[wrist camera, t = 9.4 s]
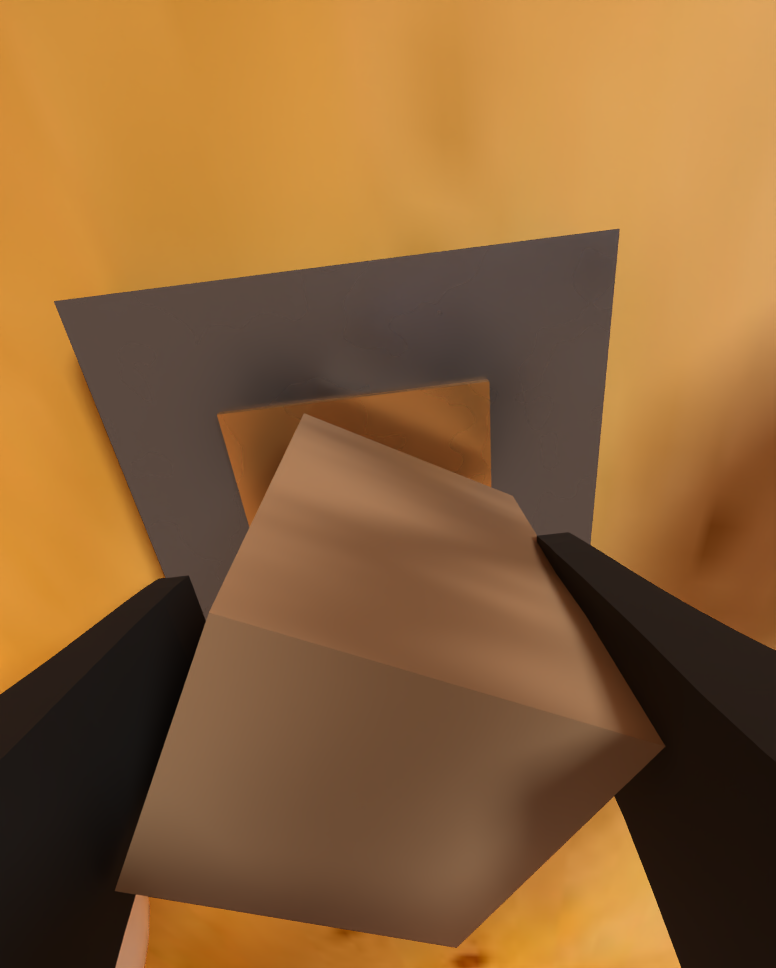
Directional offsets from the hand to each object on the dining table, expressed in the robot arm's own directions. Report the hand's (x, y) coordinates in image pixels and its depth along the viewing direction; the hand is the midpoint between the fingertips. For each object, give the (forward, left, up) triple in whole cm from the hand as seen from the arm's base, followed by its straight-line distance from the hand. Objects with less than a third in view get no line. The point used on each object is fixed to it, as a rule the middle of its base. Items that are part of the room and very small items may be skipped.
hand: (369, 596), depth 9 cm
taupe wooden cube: (0, 0, -2) cm, 2 cm away
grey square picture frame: (0, 0, -5) cm, 5 cm away
